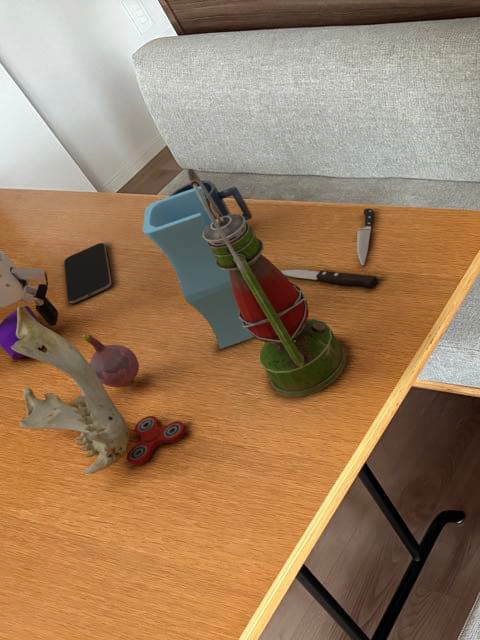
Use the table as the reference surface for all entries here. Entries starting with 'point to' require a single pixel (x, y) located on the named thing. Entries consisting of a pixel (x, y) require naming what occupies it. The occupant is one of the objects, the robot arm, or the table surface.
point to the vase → (196, 262)
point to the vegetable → (113, 363)
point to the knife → (364, 236)
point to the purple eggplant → (12, 333)
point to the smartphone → (87, 273)
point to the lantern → (272, 307)
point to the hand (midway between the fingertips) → (25, 331)
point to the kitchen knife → (334, 277)
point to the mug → (220, 198)
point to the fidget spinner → (153, 438)
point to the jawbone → (94, 407)
